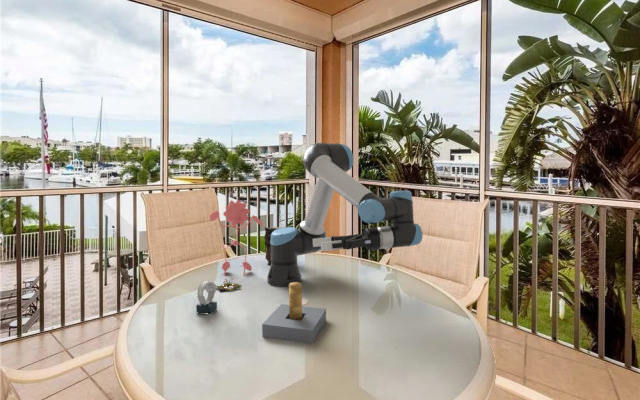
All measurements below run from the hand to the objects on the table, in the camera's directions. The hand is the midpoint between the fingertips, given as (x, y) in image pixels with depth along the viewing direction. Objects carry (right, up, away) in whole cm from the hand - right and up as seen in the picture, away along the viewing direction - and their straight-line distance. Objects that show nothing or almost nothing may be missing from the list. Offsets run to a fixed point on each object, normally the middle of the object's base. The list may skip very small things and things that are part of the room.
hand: (316, 244), depth 118 cm
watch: (-39, -25, +10) cm, 48 cm away
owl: (-20, -19, +70) cm, 76 cm away
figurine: (-39, -20, +57) cm, 72 cm away
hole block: (-7, -26, -3) cm, 27 cm away
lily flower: (-38, -23, +34) cm, 56 cm away
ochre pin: (-7, -26, -3) cm, 27 cm away
